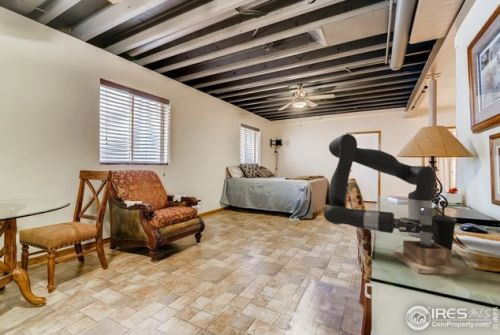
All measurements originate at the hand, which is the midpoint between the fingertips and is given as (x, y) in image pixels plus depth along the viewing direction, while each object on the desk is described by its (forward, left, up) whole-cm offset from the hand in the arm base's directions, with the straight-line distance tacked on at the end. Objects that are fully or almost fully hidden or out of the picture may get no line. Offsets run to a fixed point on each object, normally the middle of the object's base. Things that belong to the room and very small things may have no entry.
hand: (436, 228), depth 78 cm
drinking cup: (-11, -12, -13) cm, 20 cm away
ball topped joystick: (+2, -2, -10) cm, 10 cm away
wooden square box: (+2, -2, -13) cm, 13 cm away
